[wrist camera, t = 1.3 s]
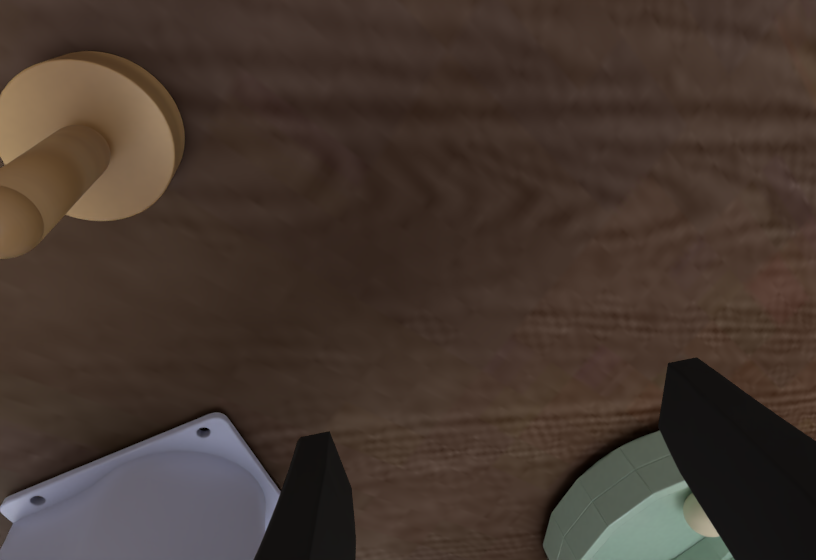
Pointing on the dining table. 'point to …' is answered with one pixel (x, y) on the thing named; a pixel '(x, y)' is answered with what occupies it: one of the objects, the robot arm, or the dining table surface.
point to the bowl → (629, 511)
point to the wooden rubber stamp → (82, 145)
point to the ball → (698, 518)
